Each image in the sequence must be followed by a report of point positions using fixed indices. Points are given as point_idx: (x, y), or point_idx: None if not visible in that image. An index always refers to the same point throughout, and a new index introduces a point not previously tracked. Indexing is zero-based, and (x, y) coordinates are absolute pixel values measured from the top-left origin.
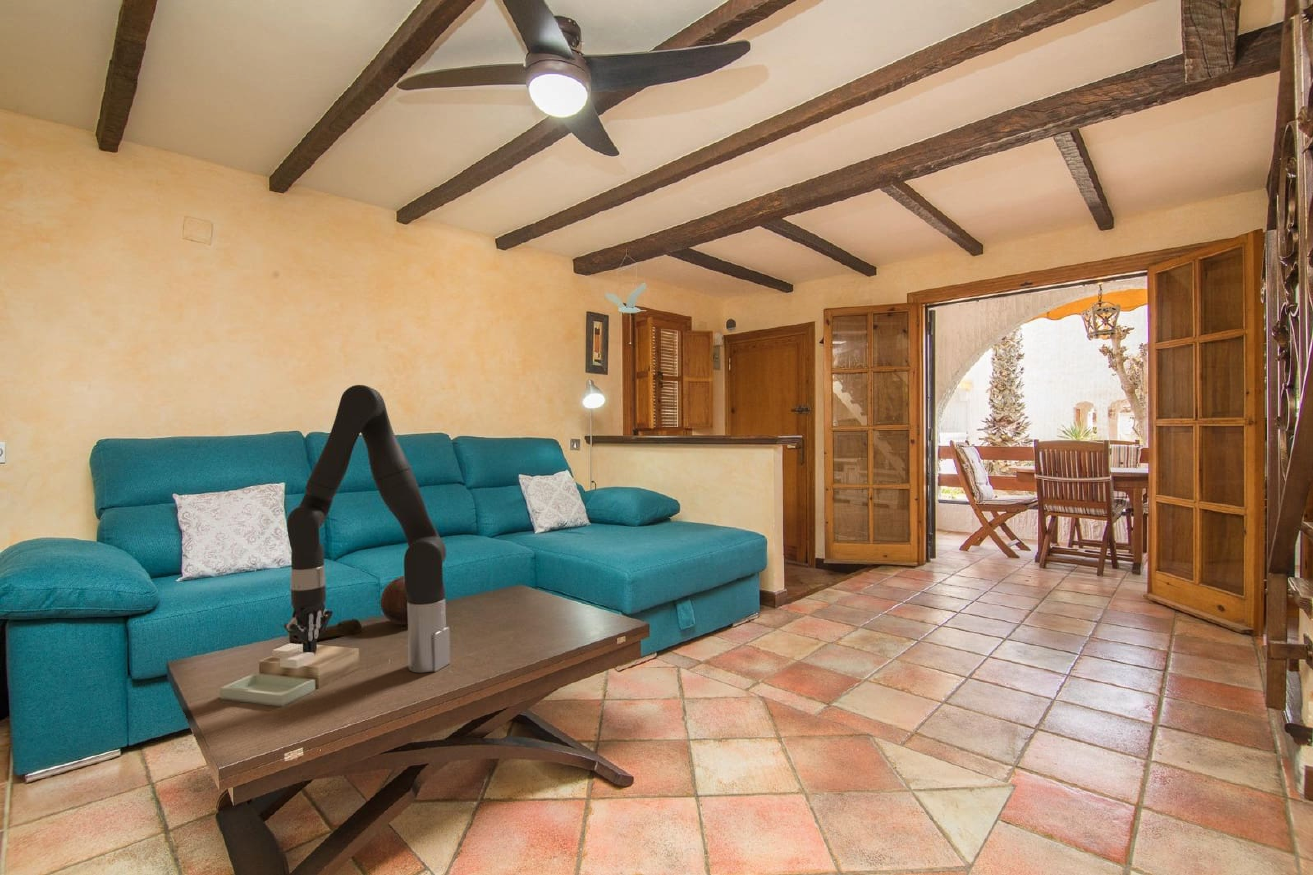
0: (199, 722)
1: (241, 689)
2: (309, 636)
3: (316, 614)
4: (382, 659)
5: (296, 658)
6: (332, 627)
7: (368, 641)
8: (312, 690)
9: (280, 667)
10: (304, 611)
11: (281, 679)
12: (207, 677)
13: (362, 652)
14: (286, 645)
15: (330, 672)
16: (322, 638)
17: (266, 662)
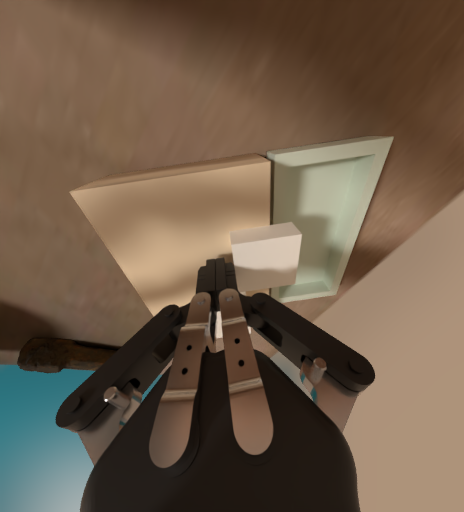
0: (416, 231)
1: (343, 263)
2: (235, 302)
3: (193, 426)
4: (19, 164)
5: (287, 248)
6: (77, 364)
7: (29, 297)
8: (276, 150)
9: None
10: (303, 497)
11: None
12: (266, 341)
13: (61, 259)
14: (219, 334)
15: (214, 163)
16: (105, 349)
17: None
